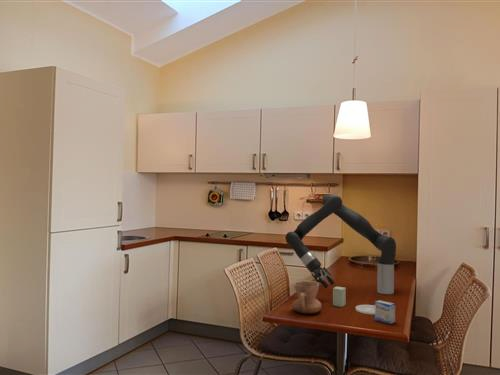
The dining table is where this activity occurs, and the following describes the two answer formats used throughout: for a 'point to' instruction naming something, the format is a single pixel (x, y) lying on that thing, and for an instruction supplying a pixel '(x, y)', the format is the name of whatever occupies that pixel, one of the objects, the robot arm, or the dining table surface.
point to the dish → (366, 309)
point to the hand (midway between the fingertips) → (330, 285)
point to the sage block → (339, 296)
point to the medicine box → (385, 311)
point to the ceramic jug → (306, 297)
